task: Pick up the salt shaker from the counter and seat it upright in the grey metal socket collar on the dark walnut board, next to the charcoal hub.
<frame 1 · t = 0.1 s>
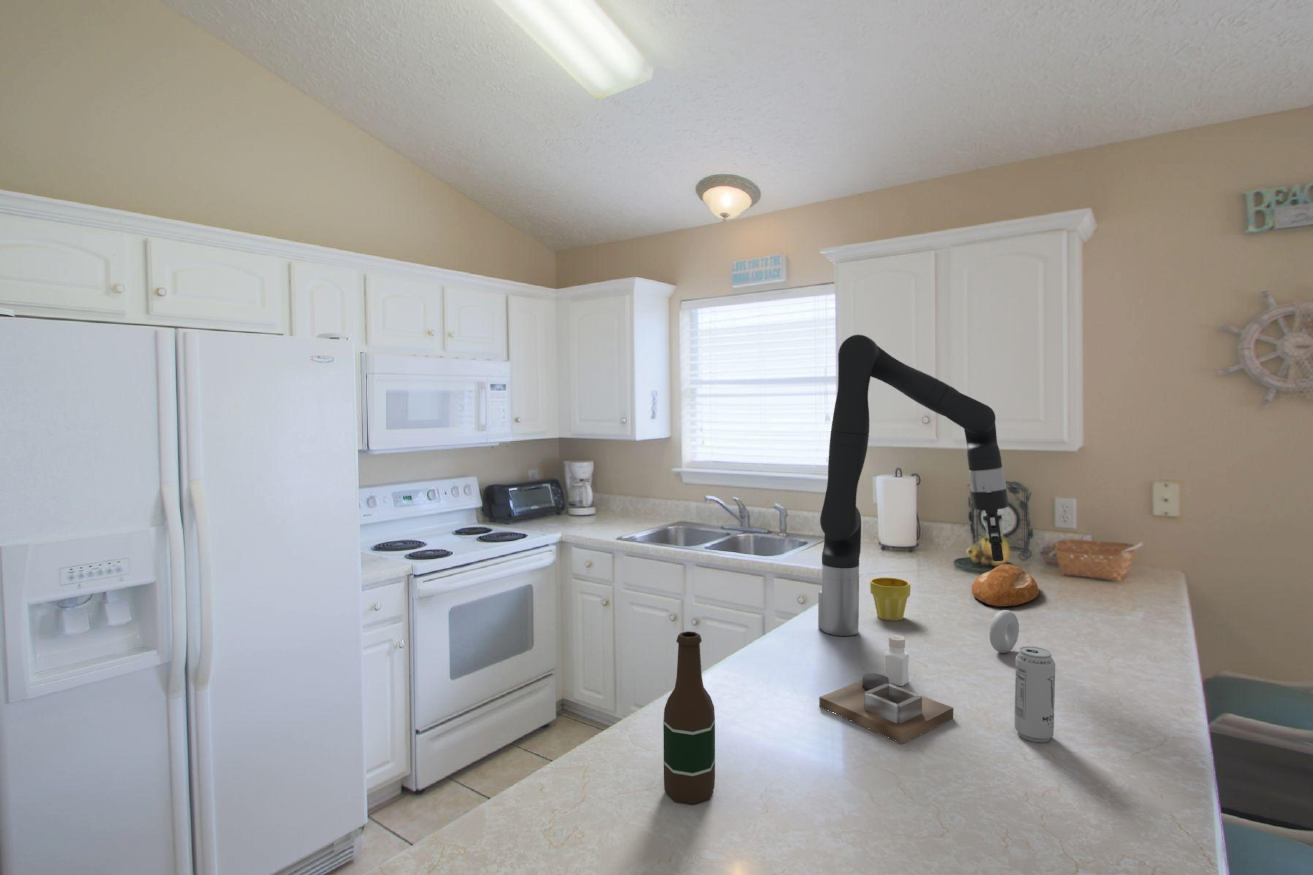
hand: (997, 556, 159), 22 cm above the worktop, tool pointing down, fingers open, 8 cm apart
plant pot: (889, 617, 186), on the worktop
carrier board: (885, 712, 128), on the worktop
salt shaker: (896, 683, 142), on the worktop
beer bottle: (689, 792, 102), on the worktop
donut: (1003, 653, 159), on the worktop
bread: (1004, 596, 207), on the worktop
energy drink can: (1033, 736, 119), on the worktop
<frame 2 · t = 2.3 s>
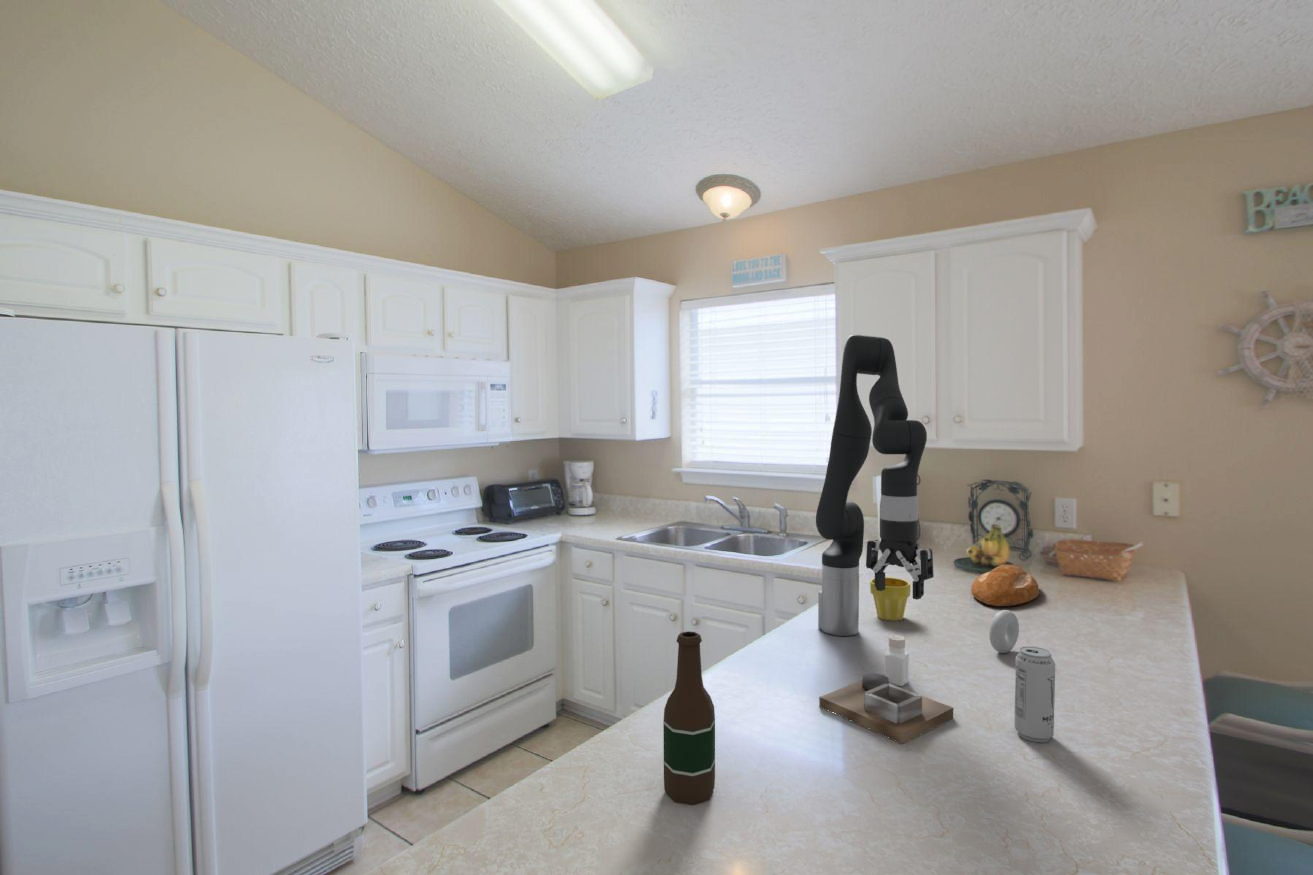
hand: (898, 594, 141), 19 cm above the worktop, tool pointing down, fingers open, 8 cm apart
nothing on the worktop moved.
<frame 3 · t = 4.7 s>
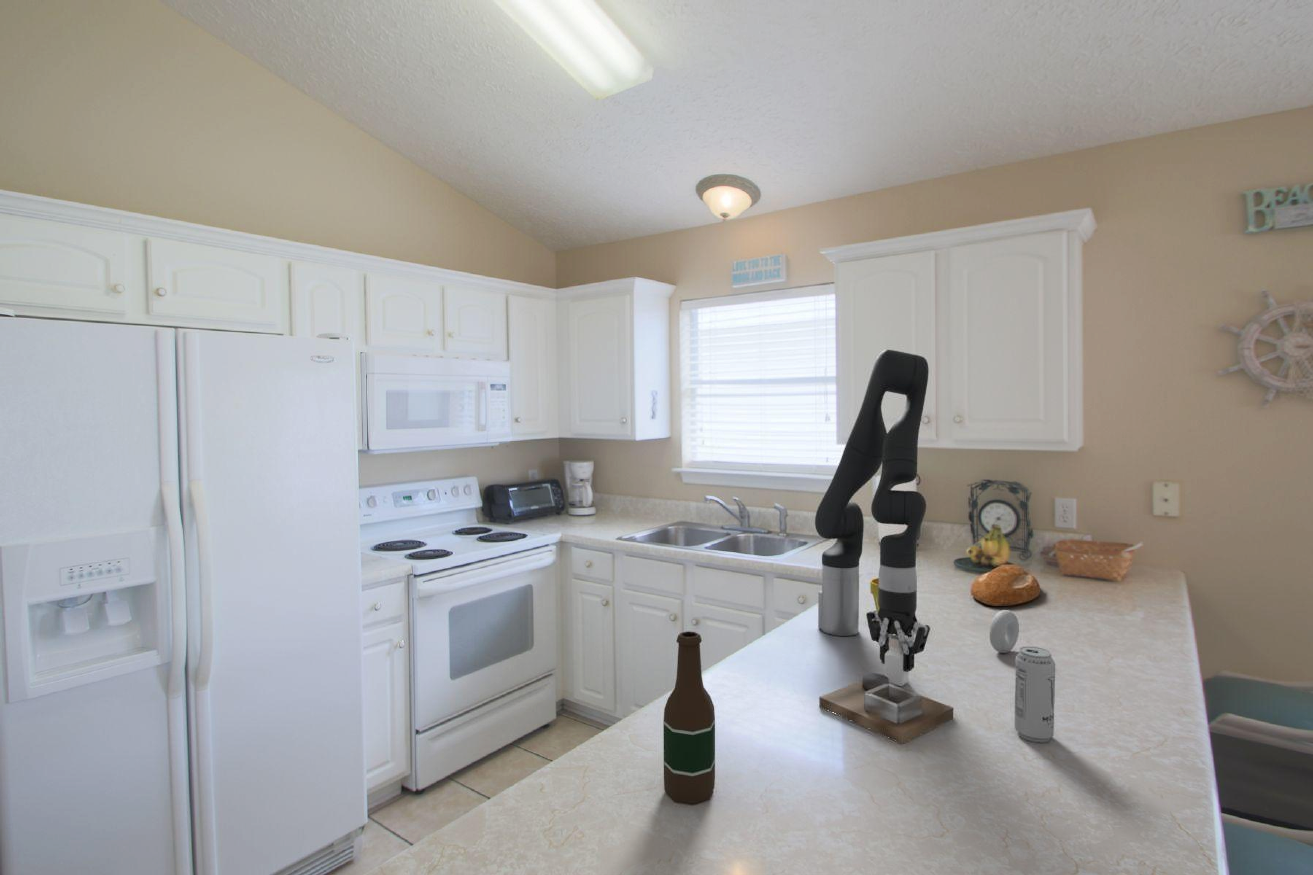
hand: (896, 666, 142), 3 cm above the worktop, tool pointing down, fingers closed on salt shaker, 4 cm apart
salt shaker: (896, 683, 142), on the worktop, touching gripper
everything else where it was.
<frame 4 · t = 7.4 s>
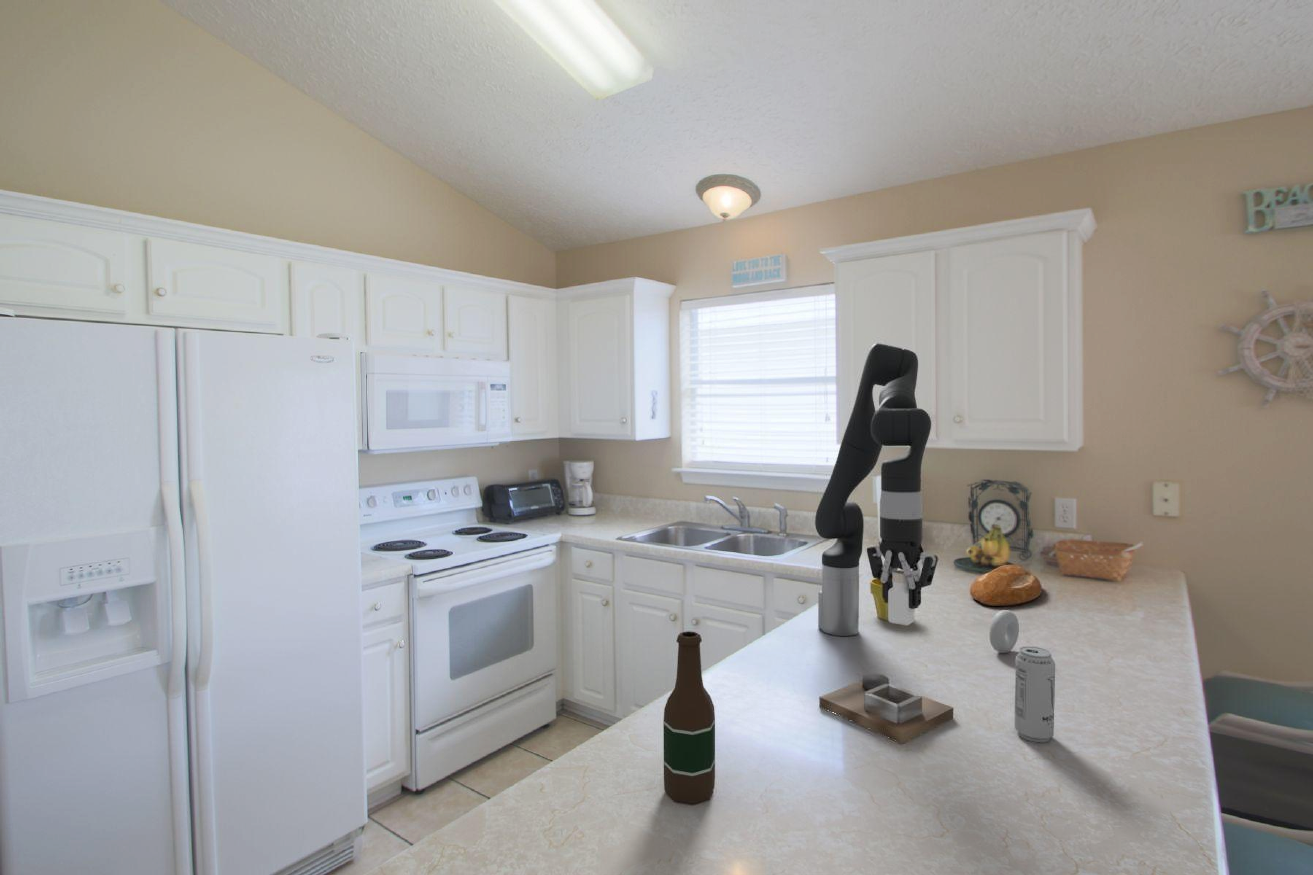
hand: (901, 604, 128), 20 cm above the worktop, tool pointing down, fingers closed on salt shaker, 4 cm apart
salt shaker: (901, 623, 128), point 17 cm above the worktop, touching gripper
everything else where it was.
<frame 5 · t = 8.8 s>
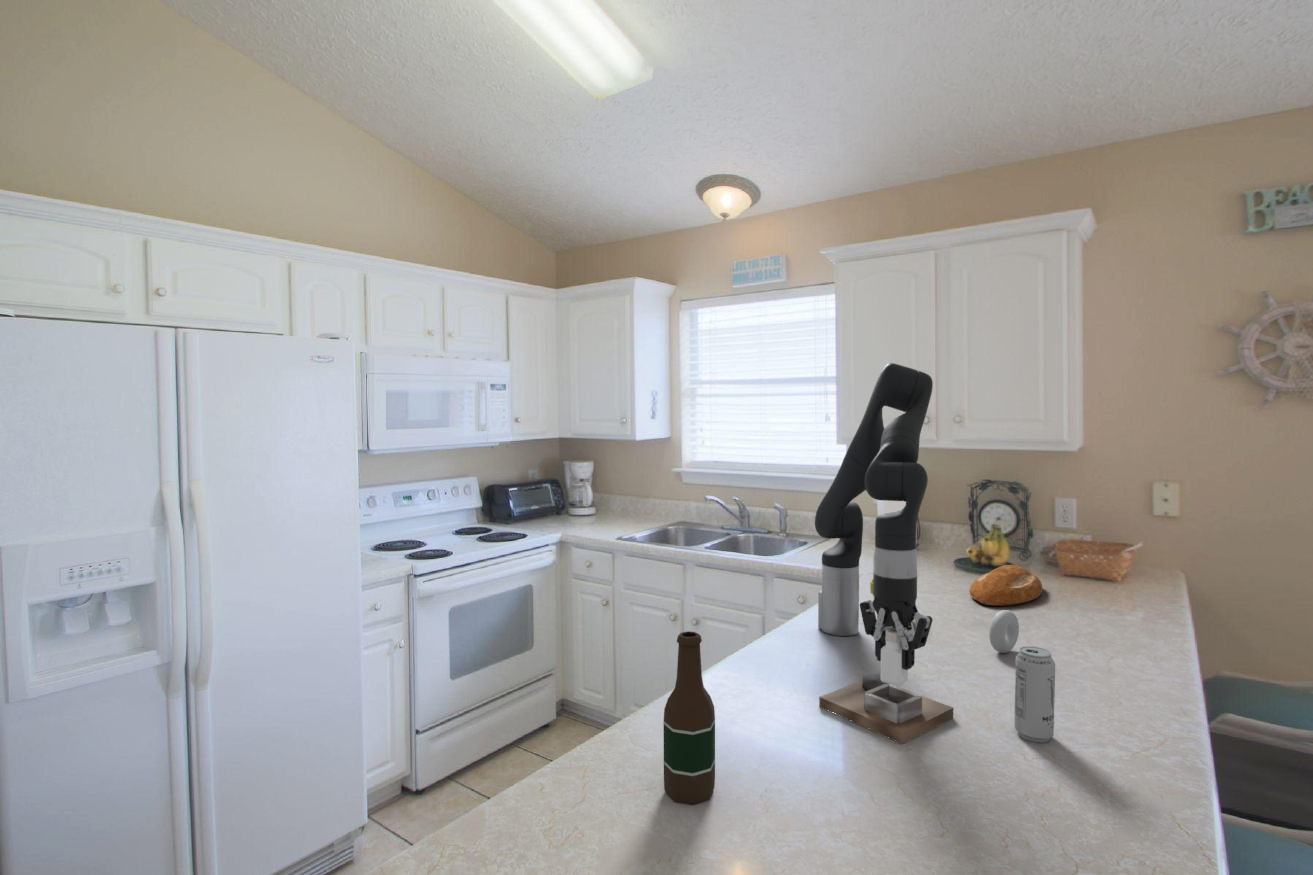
hand: (894, 663, 124), 11 cm above the worktop, tool pointing down, fingers closed on salt shaker, 4 cm apart
salt shaker: (894, 682, 124), point 7 cm above the worktop, touching gripper
when the fingers open (6 cm above the worktop, at t = 10.1 s): salt shaker stays where it is, resting on carrier board.
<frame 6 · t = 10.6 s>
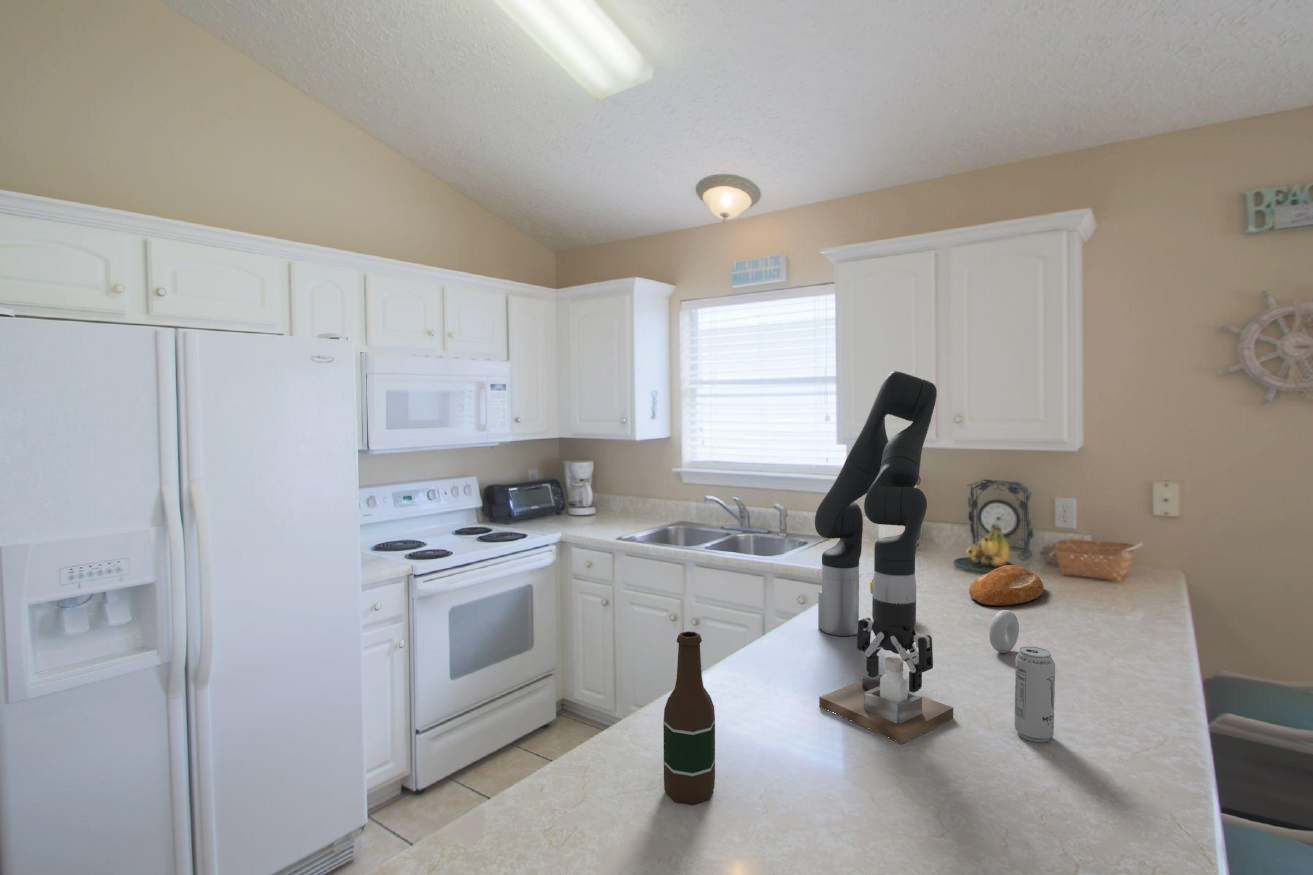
hand: (893, 683, 124), 7 cm above the worktop, tool pointing down, fingers open, 8 cm apart
salt shaker: (893, 711, 124), point 2 cm above the worktop, touching carrier board
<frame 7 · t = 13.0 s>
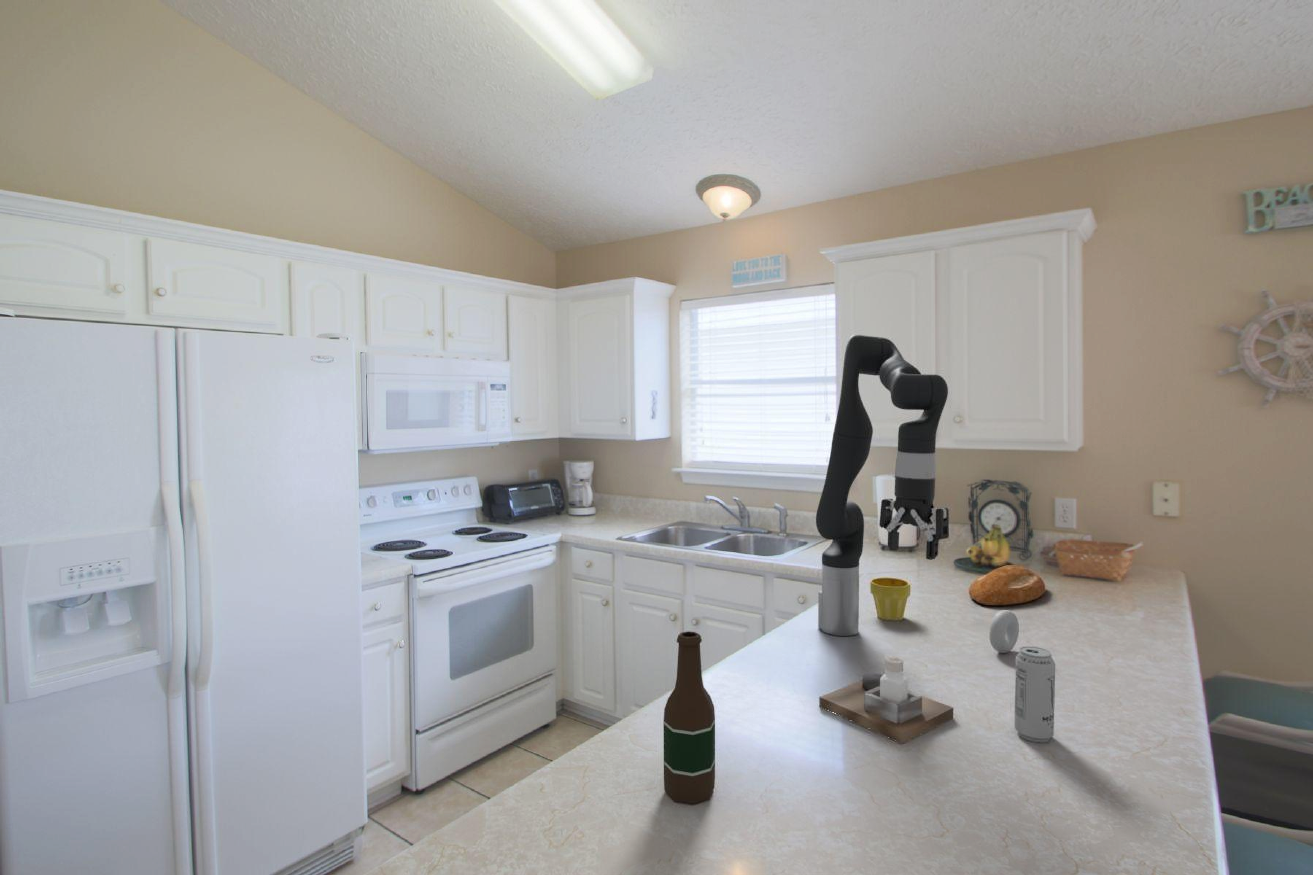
hand: (911, 554, 137), 28 cm above the worktop, tool pointing down, fingers open, 8 cm apart
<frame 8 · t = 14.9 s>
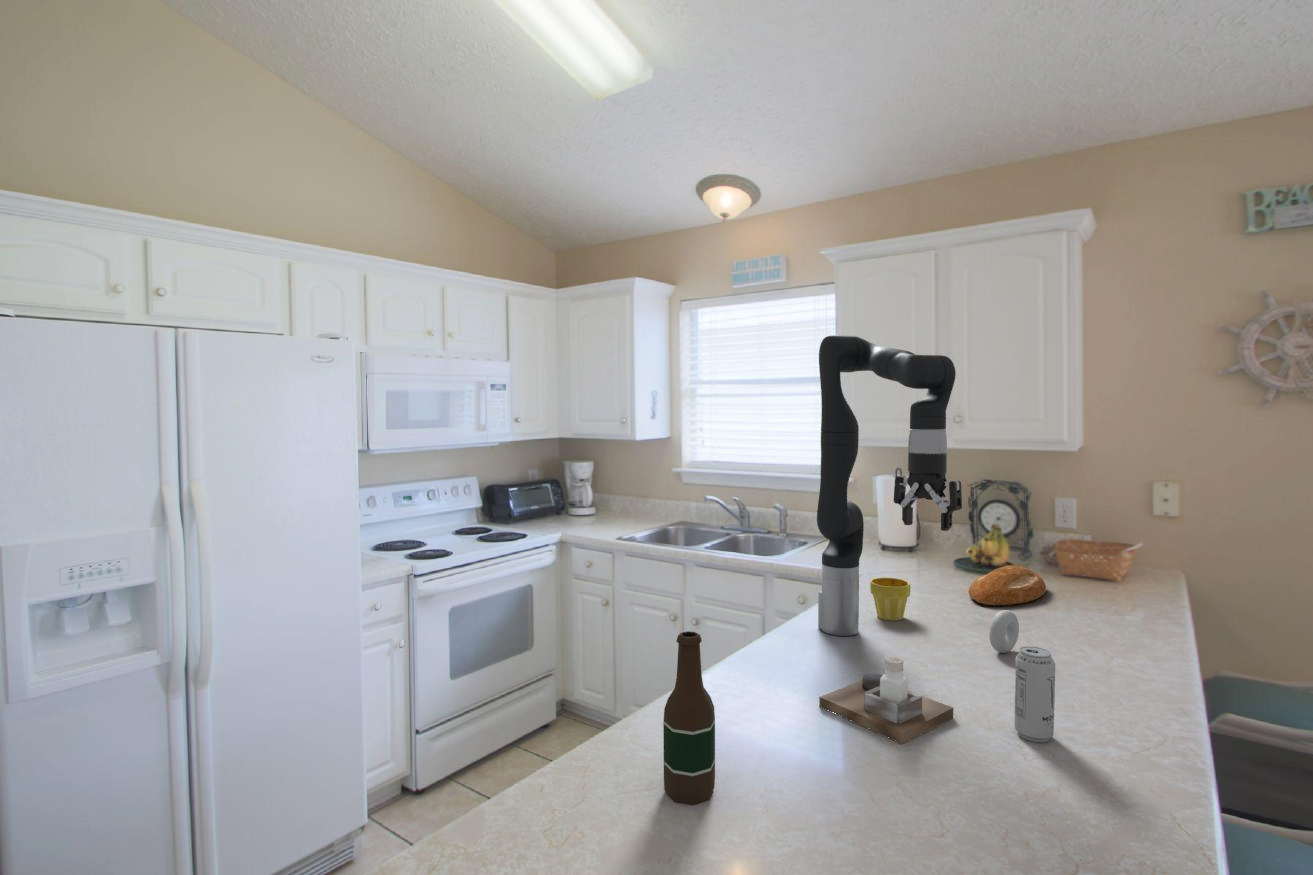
hand: (926, 527, 143), 32 cm above the worktop, tool pointing down, fingers open, 8 cm apart
at the end: salt shaker 0.1 cm from the target spot on the carrier board, point 1.8 cm above the carrier board's base; salt shaker tilted 0°; the gripper is holding nothing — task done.
